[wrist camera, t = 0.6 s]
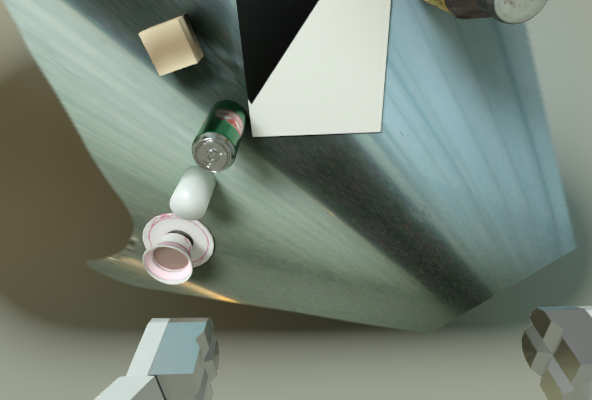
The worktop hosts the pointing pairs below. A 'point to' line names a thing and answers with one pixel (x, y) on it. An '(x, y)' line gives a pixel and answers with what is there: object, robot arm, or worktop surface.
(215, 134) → the soda can
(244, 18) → the mat
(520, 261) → the worktop surface
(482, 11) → the sauce bottle
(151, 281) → the worktop surface
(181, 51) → the birch block
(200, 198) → the grey cylinder
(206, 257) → the teacup
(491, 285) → the worktop surface
